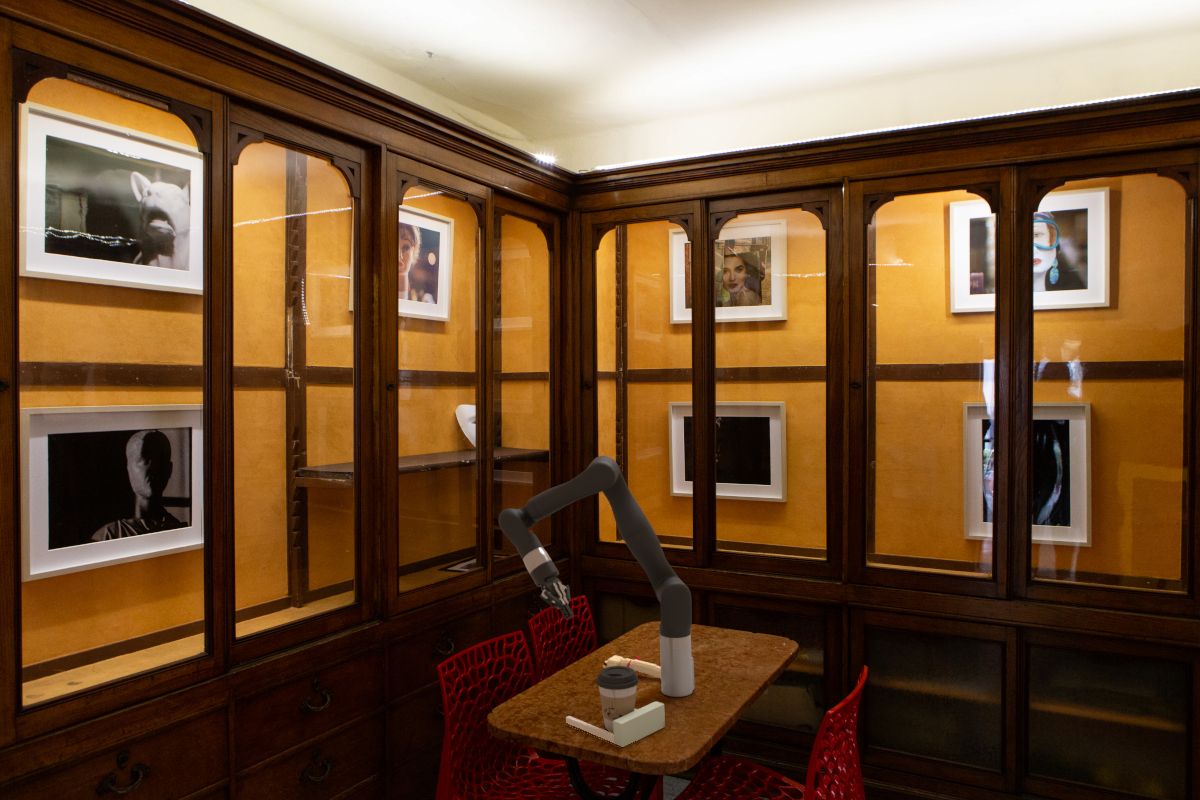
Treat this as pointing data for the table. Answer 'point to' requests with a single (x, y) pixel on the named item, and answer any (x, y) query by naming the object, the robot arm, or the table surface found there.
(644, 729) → the guide track
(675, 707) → the table surface
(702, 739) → the table surface
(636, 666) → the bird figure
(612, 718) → the coffee cup
